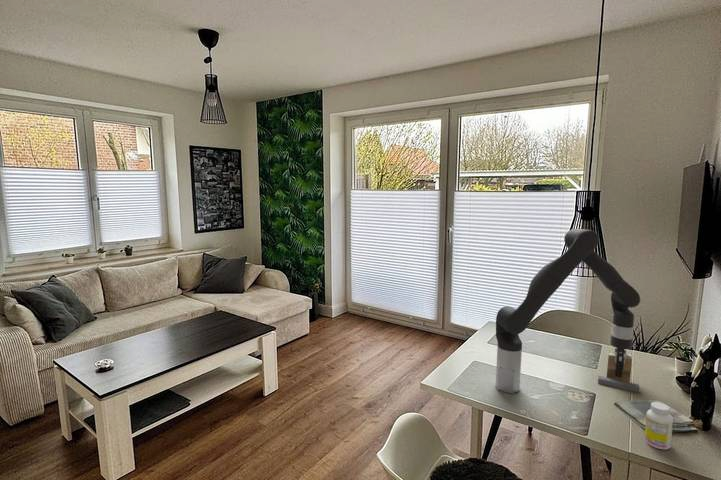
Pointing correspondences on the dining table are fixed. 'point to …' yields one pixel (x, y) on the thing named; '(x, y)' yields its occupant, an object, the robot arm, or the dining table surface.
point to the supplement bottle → (659, 426)
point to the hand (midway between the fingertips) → (618, 374)
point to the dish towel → (640, 408)
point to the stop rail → (618, 384)
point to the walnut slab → (611, 365)
